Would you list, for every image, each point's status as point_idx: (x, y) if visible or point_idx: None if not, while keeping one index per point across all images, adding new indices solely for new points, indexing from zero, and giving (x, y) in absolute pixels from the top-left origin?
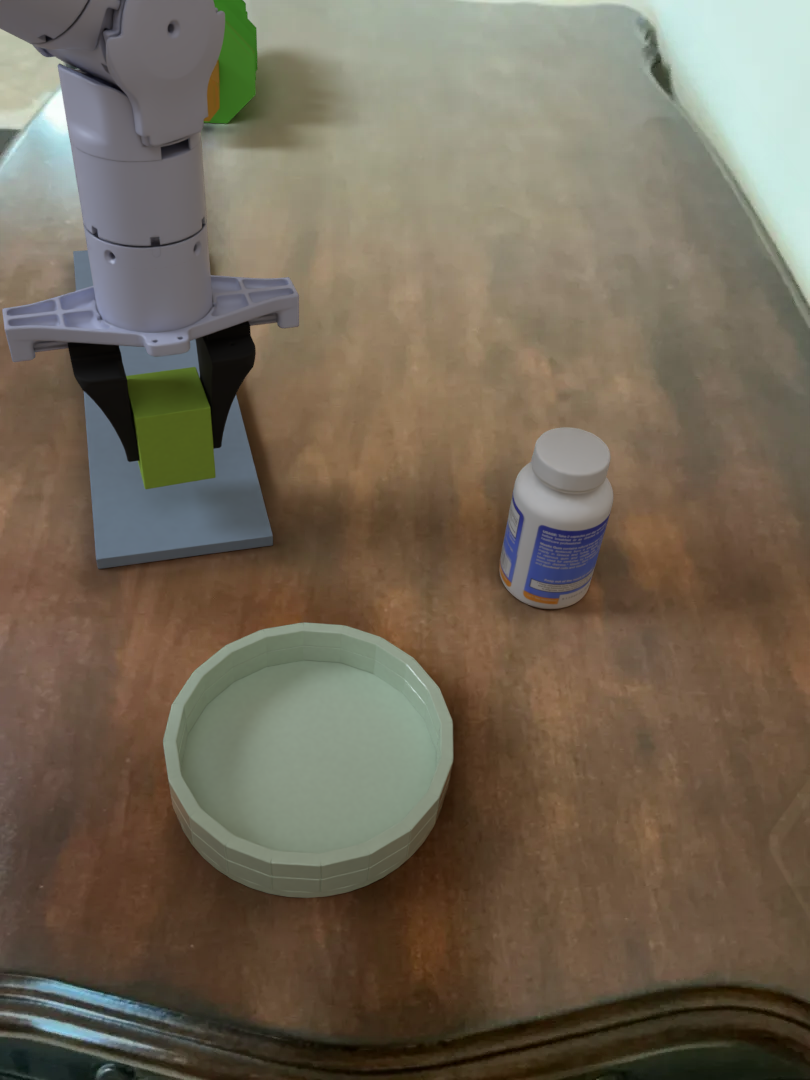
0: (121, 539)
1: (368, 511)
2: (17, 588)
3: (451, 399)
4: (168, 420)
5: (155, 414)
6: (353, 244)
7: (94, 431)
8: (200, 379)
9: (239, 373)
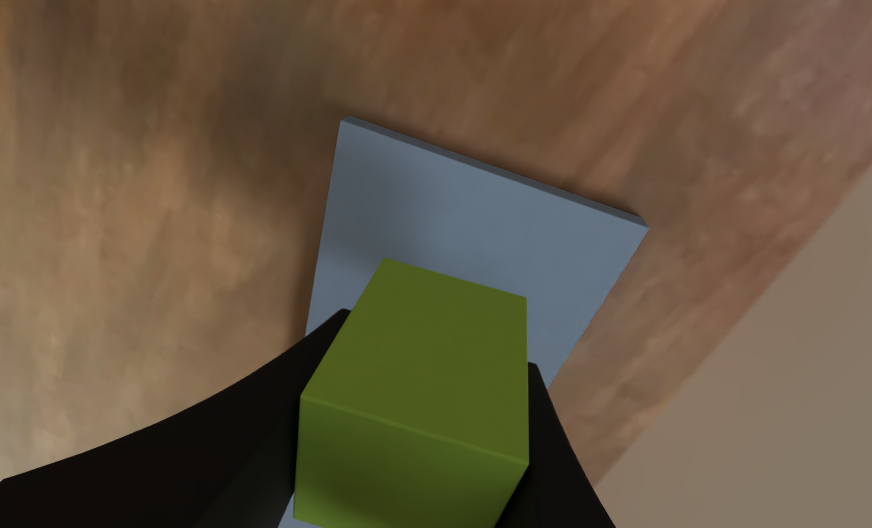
0: (583, 248)
1: (169, 108)
2: (784, 247)
3: (7, 267)
4: (434, 413)
5: (464, 448)
6: None
7: None
8: None
9: (93, 473)
